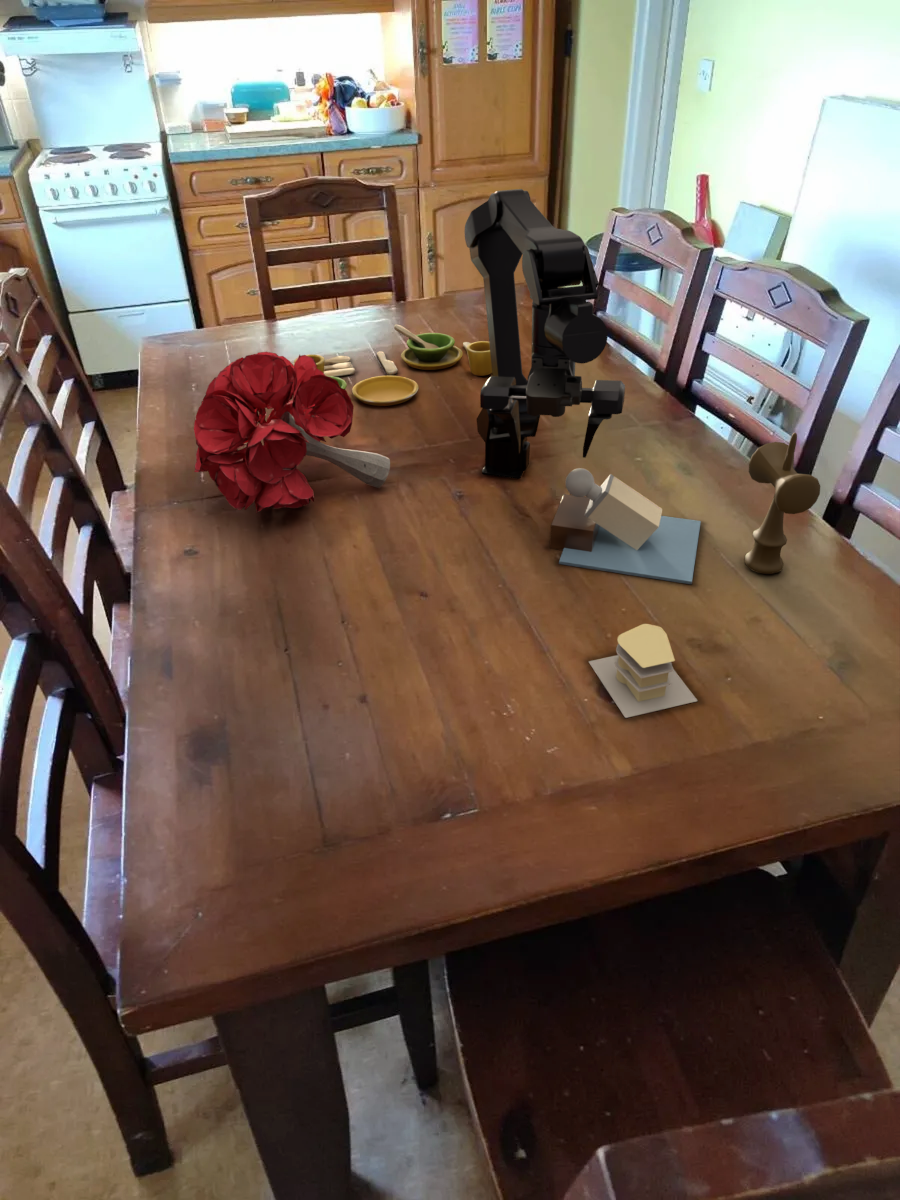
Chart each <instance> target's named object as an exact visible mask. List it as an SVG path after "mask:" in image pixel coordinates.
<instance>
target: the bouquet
mask: <svg viewBox="0 0 900 1200" xmlns="http://www.w3.org/2000/svg"><path fill="white" fill-rule="evenodd" d="M306 355H307V354H302V355H301V354H299V355H298V356H297V357H296V358H297V360H296V362H295V363H294V362H293V363H292V362H291V361H290V360H289V358H286V357H285V356H284V355H279V354H278V353H276V352H271V351H260V352H257V353H252V354H248V355H245V357H239V358H236V360H234V361H232V362H230V363H229V364H228V365H226V366H225V367H224V368H223V369H222V370H220V371H219V373H218V374H217V376H215V377H214V378H213V379H212V380H211V382H210V383H209V384H208V386H207V389H206V391H205V395H204V396H203V399H202V400H201V402H200V403H201V404H200V405H199V406H198V409H197V411H196V414H195V420H194V425H193V433H194V437H195V444H196V446H197V450H196V453H195V459H196V460H195V464H194V469H195V470H194V473H206V472H208V476H209V478H210V479H211V480H212V481H213V482H214V483H215V486H216V487H217V489H218V491H219V492H220V493H221V494H222V496H223V497H224V498H225V500H226V501H227V503H228V505H229V506H231V507H232V508H234V509H235V510H239V511H241V510H242V509H244V511H246V510H247V509H248V508H249V507H250V506H252V504H254V506H255V511H256V513H258V512H261V511H262V510H264V509H265V510H266V509H267V508H269V509H283V508H290V509H299V508H302V507H304V506H309V505H310V504H311V502H313V503H315V496H314V490H313V489H312V487H311V486H310V483H309V481H308V479H307V477H306V476H305V474H303V473H302V472H301V471H300V470H299V469H298V468H297V467H299V466H300V464H301V463H302V461H303V460H304V458H305V457H313V458H318V459H321V460H323V461H324V460H325V461H326V462H329V463H331V464H333V465H335V466H337V467H338V468H340V469H342V470H343V471H345V472H346V473H348V474H350V475H352V476H353V477H354V478H356V479H357V480H359V481H361V482H362V483H364V484H365V485H368V486H371V487H374V488H378V489H379V488H382V487H383V485H384V484H385V482H386V481H387V478H388V476H389V473H390V469H391V460H390V458H389V457H387V456H385V455H383V454H380V453H377V452H371V451H365V450H358V449H348V448H339V447H335V446H332V445H328V444H325V443H327V441H326V439H325V437H327V438H329V439H334V438H336V437H338V436H340V437H342V438H345V437H346V436H347V435H348V434H350V433H351V429H352V426H353V418H354V408H355V406H354V403H353V400H352V399H351V397H350V395H349V394H348V391H347V390H346V389H343V388H341V387H340V386H339V384H338V381H337V380H335V379H333V378H331V377H328V376H326V375H325V374H324V373H323V372H322V371H320V370H319V369H317V368H316V367H317V365H316V362H315V360H314V358H312V357H309V356H306ZM293 364H294V366H293ZM266 409H267V410H271V411H270V412H269V415H268V417H267V418H266V416H267V413H268V412H267V410H266ZM262 441H263V443H262ZM323 442H324V443H323Z"/></svg>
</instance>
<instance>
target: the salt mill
mask: <svg viewBox="0 0 900 1200" xmlns="http://www.w3.org/2000/svg"><path fill="white" fill-rule="evenodd" d="M565 477H566V478H565V488H566V490H567V492H568V493H569V495H573V496H575V497H588V498H589V499H590V501H589V504H588V507H587V510H586V513H585V516H586V517H588V518H589V519H591V520H592V521H594V522H595V523H597V524H598V525H600V526H601V527H603V528H604V529H606V530H607V531H609V532H610V533H612V534H613V535H615V536H616V537H618V538H619V539H621V540H622V541H624V542H625V543H627V544H628V545H630V546H631V547H633V548H634V549H636V550H638V549H639V548H640V547H641V546H642V545H643V544H644V542H645V541H646V540H647V539H648V538H649V537H650V536H651V535H652V534H653V533H654V532H655V531H656V529H657V528H658V527H659V524H660V519H661V516H662V514H663V508H662V507H660V506H659V505H657V504H656V503H655V502H653V501H652V500H650V499H648V497H646V496H644V495H642V494H641V493H640V492H638V491H637V490H635V489H634V488H633V487H631V486H630V485H628V484H627V483H625V482H623V481H622V480H620V479H619V478H618V477H616V476H614V475H613V474H612V473H610V474H609V475H608V476H607V477H606V478H605V480H604V481H603V483H602V484H601V485H598V484H597V483H596V482H595V477H594V475H593V474H592V472H591V471H589V470H588V469H586V468H583V467H581V468H580V467H578V468H574V469H573V470H571V471H570V472H569V473H568V474H567V475H566V476H565Z"/></svg>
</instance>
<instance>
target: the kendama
mask: <svg viewBox="0 0 900 1200" xmlns="http://www.w3.org/2000/svg"><path fill="white" fill-rule="evenodd" d="M797 441H798V434H797V432H793V433H792V434H791V436H790V440H789V442H788V444H787V443H785V442H782V441H781V442H780V441H773V442H768V443H765V444H763V445H761V446H759V447H758V448H757V449H756V450H755V451H754V452H753V453H752V455H751V457H750V460H749V462H748V474H749V476H750V478H751V480H753V481H755V482H756V483H759V484H771V485H772V487H774V495H773V498H772V501H771V503H770V505H769V508H768V510H767V514H766V515H765V517H764V519H763V522H762V523H761V525H760V527H759V528H757V529H755V530H753V533H752V538H753V541H754V543H753V546H752V548H751V550H750V551H748V552H746V554H745V556H744V562H745V565H746V566H747V567H748V568H749V569H750V570H751V571H753V572H756V573H759V574H763V575H772V574H776V573H779V572H781V571H782V570H783V569H784V565H785V564H784V563H785V562H784V561H783V559H782V556H781V552H782V549H783V547H784V546H786V545H787V543H788V538H787V536H786V534H785V532H784V519H785V517H784V516H785V515H784V514H789V515H796V514H800V513H804V512H807V511H808V510H809V509H811V508H812V507H813V506H814V505H815V504H816V503H817V501H818V499H819V497H820V494H821V484H820V482H819V479H818V478H817V477H815V476H813V475H812V474H808V473H807V474H806V473H798V472H797V471H796V470H795V469H794V464H795V452H796V447H797Z"/></svg>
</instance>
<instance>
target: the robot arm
mask: <svg viewBox="0 0 900 1200" xmlns="http://www.w3.org/2000/svg"><path fill="white" fill-rule="evenodd" d="M488 197H489V198H488V199H487V200H486V201H485V202H484V203H482V204H480V205H479V206H477V207H475V208H474V209H473V210H471V211H470V213H469V216H468V217H467V219H466V221H465V224H464V242H465V246H466V247H467V248H468V249H469V257H470V261H471V263H472V264H473V265H474V267H475V268H476V270H477V271H478V272H479V274H480V276H481V277H482V279H483V280H482V281H483V290H484V301H485V311H486V312H485V313H486V321H487V332H488V342H489V344H490V355H491V366H492V373H491V376H490V377H489V378H488V379H486V381H485V383H484V384H483V386H482V388H481V389H480V394H479V403H480V404H479V406H480V408H481V410H480V412H479V413H478V415H477V417H476V428H477V433H478V435H479V436H480V437H481V439H482V440H483V442H484V467H483V468H482V470H481V474H482V475H483V476H489V477H490V476H491V477H498V478H505V479H514V480H521V478H522V476H523V475H524V472H526V471H527V469H528V468H529V466H530V459H531V458H530V455H531V454H530V453H531V442H530V441H528V438H534V437H536V436H537V432H538V428H539V423H540V418H541V416H550V417H553V418H560V417H562V416H563V415H564V414H565V413H566V407H573V406H580V404H581V403H582V404H590V410H589V413H588V417H587V424H586V430H585V436H584V442H583V445H582V458H584V459H586V458H587V455H588V453H589V450H590V448H591V445H592V442H593V440H594V437H595V434H596V433H597V430H598V429H599V427H600V425H601V424H602V422H603V421H604V420H611V419H612V418H613V415H620V414H622V413H623V408H624V403H625V395H626V393H625V392H626V385H625V383H624V382H623V380H614V379H613V380H612V379H611V380H609V379H595V381H594V384H593V387H583V379H582V376H581V375H576V364H583V365H584V364H587V363H590V362H592V361H594V360H596V359H597V358H598V357H599V356H601V354H602V353H603V351H604V350H605V348H606V346H607V344H608V338H609V337H608V335H609V332H608V331H607V327H606V325H605V323H604V321H603V320H602V319H601V318H600V317H599V316H598V315H596V314H594V304H593V303H592V302H591V301H592V300H598V299H599V293H598V287H599V284H600V283H599V280H598V276H597V273H596V270H595V267H594V264H593V260H592V257H591V254H590V251H589V248H588V246H587V245H586V244H585V241H584V240H583V238H582V237H581V236H580V235H578V234H576V233H575V232H573V231H571V230H567V229H561V228H557V227H555V226H553V224H551V222H550V221H549V220H548V219H547V217H546V216H545V215H544V214H543V213H542V212H541V210H540V209H538V207H537V206H536V205H535V204H534V203H533V202H532V200H531V196H530V192H529V191H528V190H524V189H522V188H516V189H503V190H496V191H495V192H494V193H493V192H492V193H490V195H489V196H488ZM521 258H522V259H521ZM520 261H521V269H522V274H523V278H524V280H525V284H526V286H527V289H528V291H529V298H530V300H532V302H531V358H530V359H531V361H530V362H531V363H530V364H531V367H530V369H529V373H528V376H527V378H526V376H525V375H524V374H523V373H524V372H523V365H522V353H521V342H520V341H521V339H520V327H519V319H518V318H519V317H518V305H517V293H516V282H515V280H516V279H515V272H516V270H517V267H518V265H519V263H520ZM590 300H591V301H590Z"/></svg>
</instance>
